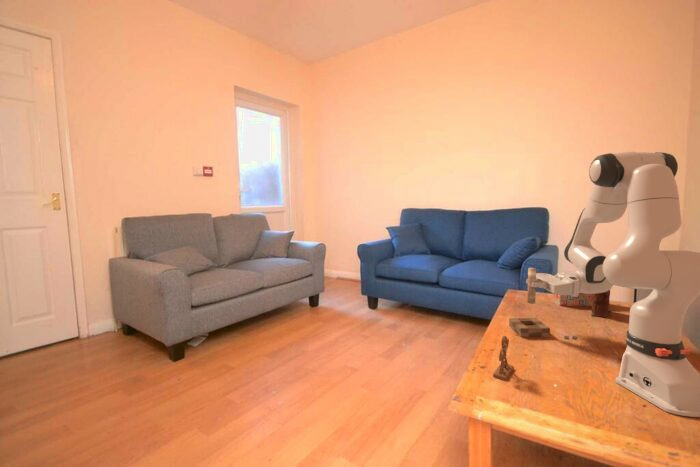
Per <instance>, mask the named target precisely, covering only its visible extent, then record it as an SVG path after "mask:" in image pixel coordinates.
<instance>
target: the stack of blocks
mask: <svg viewBox="0 0 700 467" xmlns="http://www.w3.org/2000/svg"><path fill="white" fill-rule="evenodd" d="M592 298H593V294H584V293H579V295H578V297H573V296H571V295H557V294H554V293H553V303H554V304H556V305H557V306H560V307H562V306H563V307H565V306H566V307H592Z"/></svg>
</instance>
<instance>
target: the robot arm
mask: <svg viewBox="0 0 700 467" xmlns="http://www.w3.org/2000/svg"><path fill="white" fill-rule="evenodd" d="M678 169H679V164H678V161H677V159H676V157H675V156H674V155H673V154H672V153H667V152H660V151H657V152H649V151H648V152H646V151H645V152H644V151H638V152H637V151H623V152H616V153H611V152H609V153H603V154H601V155H597V156H596V157H595V158H594V159H593V160H592V162H591V163H590V166H589V170H588V171H589V172H588V175H589V179H590V181H591V182H592V184H593V185H592V188H591V191H590V194H589V199H588V201H587V204H586V206H585V207H584V208H583V209H582V211H581V213H580V214H579V218H578V220H577V222H576V225H575V228H574V231H573V234H572V236H571V239H570V240H569V242H568V244H566V247H565V248H564V251H563V255H564V258H565V260H566V261H568V262H569V263H570V264H572V265H573V266H575V267H576V270H575V271H558V272H557V273H556V274H555V275H553V274H550V273H543V272H536V282H531V286H532V287H536V288H540V289H544V290H547V291H548V292H550V293H552V294H553V295H554V294H557V295H571V296H573V297H578V295H579V293H584V294H596V293H603V292H607V291H609V290H610V291H611V289H612V288H613V286H618V287H622V288H626V289H634V290H635V289H636V290H652V291H651V293H650V294H648V296H646V297H645V298H642V299H640V300H637V301H635V302H634V303H633V304H632V305H631V307H630V308H629V320H628V330H626V334H625V344H626V348H625V351H624V352H623V355H622V358H621V363H620V368H619V372H618V375H617V376H616V377H615V383H616V384H618V385H620V386H622V387H623V388H625V389H627V390H629V391H630V392H632V393H634V394H636V395H637V396H639V397H640V398H642V399H643V400H645V401H647V402H649V403H651V404H653V405H654V406H656V407H657V408H660V409H661V410H662V411H664V412H666V413H669V414H673V415H678V416H682V417H689V418H690V417H691V418H700V373H699V372H698V370H697V369H696V368H695V367H694V366H693V365H692V363H691V362H690V361H689V360H688V358H687V355H691V353H690V352H691V350H690V349H685V345H684V343H683V341H682V332H683V324H684V320H685V314H686V313H687V310H688V309H689V307H690V305H692V303H693V302H694V300H696V299H697V297H698V296H700V252H697V251H691V250H665V249H664V250H660V244H661V243H662V240H663V239H665V238H667V237H670V236H671V235H674V234H675V233H676V232H678V231H679V229H680V228H681V227H682V215H681V207H680V206H681V203H680V195H679V190H678V186H677V185H678V184H677V182H676V181H677V180H676V179H675V177H676V175H677V174H678ZM626 210H627V231H626V234H625V236H624V239H623V241H622V242H621V244H620V245H619V246H618V247H617V248H616V249H615V250H613V251H612V252H611V253H609V254H608V255H604V254H603V253H601V251H599V250H597V249H596V248H595V247H593V245H592V243H591V239H592V237H593V234H594V232H595V229H596V226H597V225H598V224H608V223H609V224H610V223H613V222H615V221H618V220H619V219H621V218H622V217H623V216H624V214H625V212H626ZM525 280H526V281H525V283H526V285H528V278H526V279H525Z"/></svg>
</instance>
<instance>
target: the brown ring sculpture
mask: <svg viewBox="0 0 700 467" xmlns="http://www.w3.org/2000/svg"><path fill="white" fill-rule="evenodd" d="M509 344H510V342H509V338H508V337H507V335H503V336H502V338H501V348H500V351H499V353H498V354H499V355H498V361H499V362H500V364H499V365H498V366H497V368H496V369H495V370H494V372H493V373H492V377H493V378H495V379H499V380H502V381H505V382H506V381H508V378H509V377H510V375H511V374H512V373H513V371H514V368H515V367H514V366H513V365H510V364H508V358H507V351H508V348H509Z"/></svg>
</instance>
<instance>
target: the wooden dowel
mask: <svg viewBox="0 0 700 467" xmlns="http://www.w3.org/2000/svg"><path fill="white" fill-rule="evenodd" d="M536 273H537V268H535V267H528V269H527V275H528V276H527V279H528V284H527V303H528V304H531V305H532V304H533V305H535V304H536V293H537V292H536V288H537V287H532V286H531V282H536Z"/></svg>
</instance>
